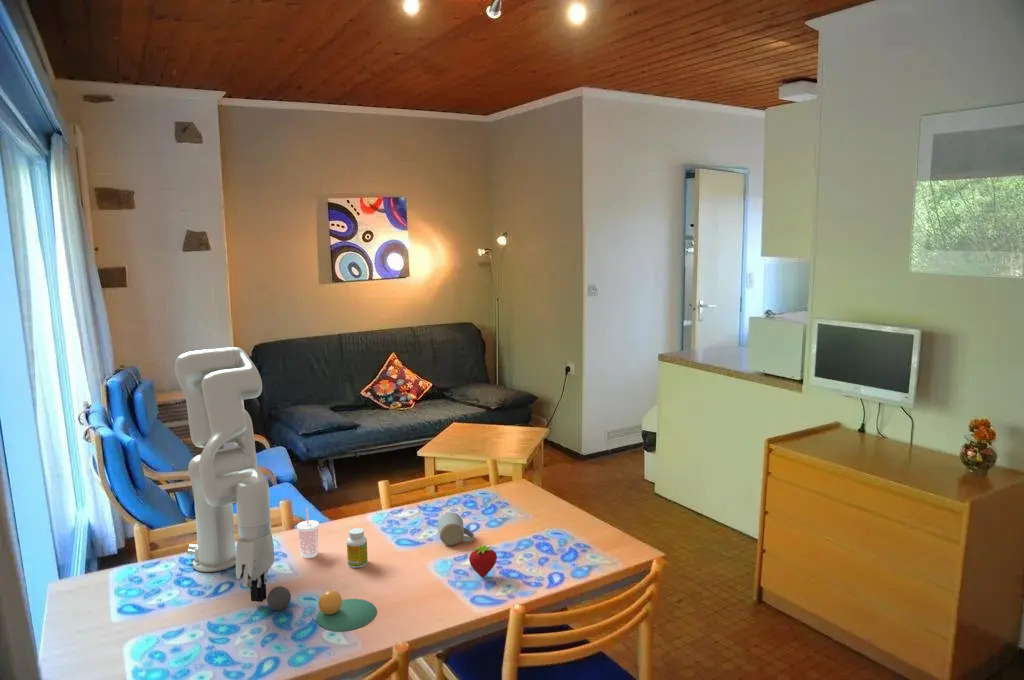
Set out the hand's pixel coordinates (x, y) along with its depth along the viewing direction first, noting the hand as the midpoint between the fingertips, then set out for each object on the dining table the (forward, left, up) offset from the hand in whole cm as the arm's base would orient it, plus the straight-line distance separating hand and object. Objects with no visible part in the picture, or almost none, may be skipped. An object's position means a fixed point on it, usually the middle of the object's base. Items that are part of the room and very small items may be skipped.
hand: (258, 599), depth 167 cm
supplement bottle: (+15, +25, -2) cm, 29 cm away
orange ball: (+19, 0, +1) cm, 19 cm away
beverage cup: (-1, +28, -2) cm, 28 cm away
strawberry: (+51, +24, -2) cm, 56 cm away
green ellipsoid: (+23, 0, -2) cm, 23 cm away
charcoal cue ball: (+6, 0, +1) cm, 6 cm away
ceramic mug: (+38, +45, -2) cm, 58 cm away
